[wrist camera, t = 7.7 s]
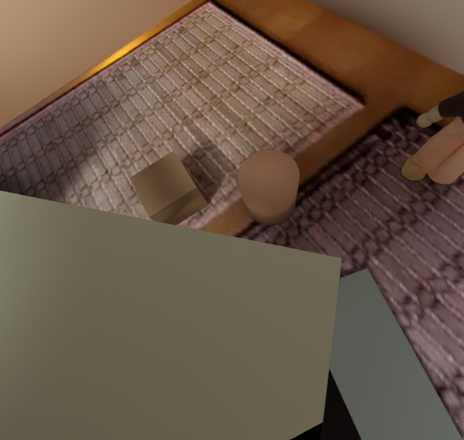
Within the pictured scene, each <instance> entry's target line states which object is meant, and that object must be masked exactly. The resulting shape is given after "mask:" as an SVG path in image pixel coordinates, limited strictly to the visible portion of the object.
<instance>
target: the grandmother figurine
mask: <svg viewBox="0 0 464 440" xmlns="http://www.w3.org/2000/svg"><path fill="white" fill-rule="evenodd" d="M446 117H456V118H455V119H454V120H453V121H452V122H451V123H450V124H448V125H447V126H446V127H444V128H443V129H441V130H440V131H439V132H438V133H437V134H435V135H434V136H432V137H431V138H430V139H429V140H428V141H427V142H426V143H425V144H424V145H423V146H422V147H421V148H420V149H419V151H418V152H417V153H415V154H414V155H413V156H410V157H409V158H408V159H407V161H406V162H405V164H404V165H403V167H402V169H401V173H402V175H403V176H404V177H405V178H407V179H409V180H413V181H418V180H421V179H423V178H424V176H425V174H428V175H429V177H430V178H431V179H432V180H433V181H434V182H437V183H439V184H451V183H454V182H455V181H456V180H457V178H458V177H459V176H460V175H461V174H462V173H463V172H464V91H463V92H461V93H459V94H457V95H455V96H452V97H450V98H448V99H446V100H444V101H442V102H440V103H439V104H438V105H437V106H435V107H433V108H432V109H430V110H429V111H428V113H424V114H422V115H420V116H419V117H418V119H417V125H418V126H419V127H422V128H425V127H428V126H430V125H431V124H432V123H433V122H437V121H439V120H441V119H443V118H446Z"/></svg>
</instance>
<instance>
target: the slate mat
mask: <svg viewBox="0 0 464 440" xmlns="http://www.w3.org/2000/svg"><path fill="white" fill-rule="evenodd" d="M329 368H330V370H331V373H332V375H333V377H334V379H335V382H336V384H337V386H338V388H339V390H340V393H341V395H342V397H343V399H344V402H345V404H346V406H347V408H348V410H349V413H350V415H351V417H352V419H353V422H354V424H355V426H356V428H357V430H358V433H359V435H360V437H361V439H362V440H463V439H462V437H461V435H460V434H459V432H458V430H457V428H456V426H455V425H454V423H453V421H452V419H451V417H450V416H449V414H448V412H447V410H446V408H445V407H444V405H443V403H442V401H441V399H440V398H439V396H438V394H437V392H436V390H435V389H434V387H433V385H432V383H431V382H430V380H429V378H428V376H427V374H426V373H425V371H424V369H423V367H422V365H421V364H420V362H419V360H418V358H417V356H416V355H415V353H414V351H413V349H412V347H411V346H410V344H409V342H408V340H407V338H406V337H405V335H404V333H403V331H402V329H401V328H400V326H399V324H398V322H397V320H396V319H395V317H394V315H393V313H392V311H391V310H390V308H389V306H388V304H387V302H386V301H385V299H384V297H383V295H382V293H381V292H380V290H379V288H378V286H377V284H376V283H375V281H374V279H373V277H372V275H371V274H370V272H369V270H368V268H367V269H364V270H361V271H358V272H356V273H353V274H350V275H347V276H344V277H342V278H340V279H339V288H338V296H337V305H336V313H335V322H334V330H333V339H332V348H331V356H330V365H329Z"/></svg>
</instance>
